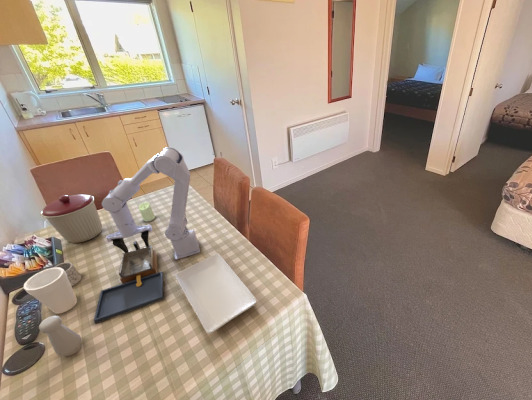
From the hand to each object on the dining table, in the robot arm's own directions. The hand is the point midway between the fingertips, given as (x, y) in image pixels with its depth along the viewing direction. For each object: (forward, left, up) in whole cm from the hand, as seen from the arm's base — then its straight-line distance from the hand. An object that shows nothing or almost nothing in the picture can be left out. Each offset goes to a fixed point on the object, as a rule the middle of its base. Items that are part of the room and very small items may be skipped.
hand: (137, 249), depth 106 cm
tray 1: (+2, +21, -5) cm, 21 cm away
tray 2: (-24, +33, -5) cm, 41 cm away
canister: (+24, -30, -5) cm, 38 cm away
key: (0, +15, -3) cm, 15 cm away
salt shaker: (+16, +34, -5) cm, 38 cm away
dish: (0, +6, -2) cm, 6 cm away
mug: (+25, +2, -5) cm, 25 cm away
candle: (-2, -31, 0) cm, 31 cm away
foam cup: (+22, +14, -5) cm, 27 cm away
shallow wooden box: (0, +7, -5) cm, 8 cm away
